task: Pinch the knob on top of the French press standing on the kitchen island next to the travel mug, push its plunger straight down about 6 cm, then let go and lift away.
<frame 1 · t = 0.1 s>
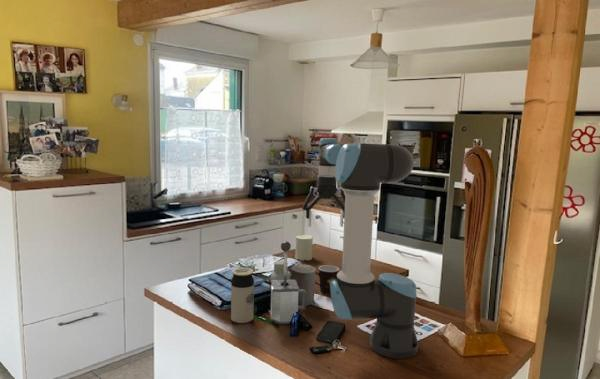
hand: (325, 226, 180), 28 cm above the counter, fingers open, 13 cm apart
grey cylinder: (302, 301, 171), on the counter
plunger: (285, 266, 152), point 20 cm above the counter, slide at 0.0 cm
coffee mug: (324, 291, 183), on the counter
travel mug: (242, 319, 154), on the counter
can: (303, 258, 227), on the counter
carafe: (283, 318, 155), on the counter
air freshener: (280, 284, 189), on the counter
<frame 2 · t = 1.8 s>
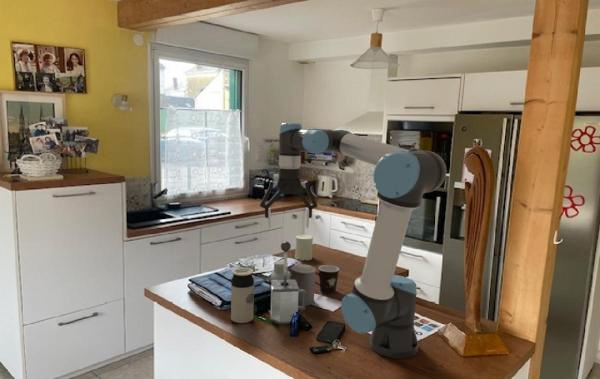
hand: (288, 226, 153), 33 cm above the counter, fingers open, 13 cm apart
nothing on the counter moved.
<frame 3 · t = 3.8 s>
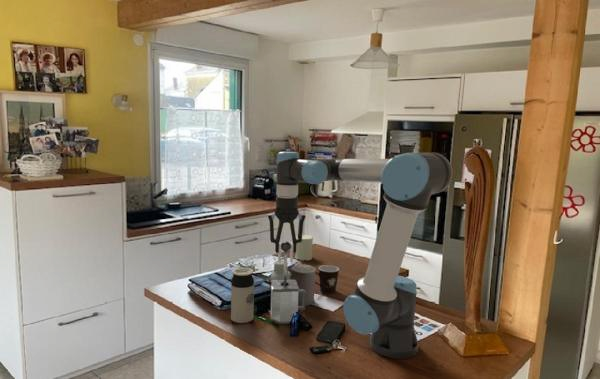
hand: (285, 261, 152), 22 cm above the counter, fingers closed on plunger, 4 cm apart
plunger: (285, 266, 152), point 20 cm above the counter, slide at 0.0 cm, touching gripper
everything else where it was.
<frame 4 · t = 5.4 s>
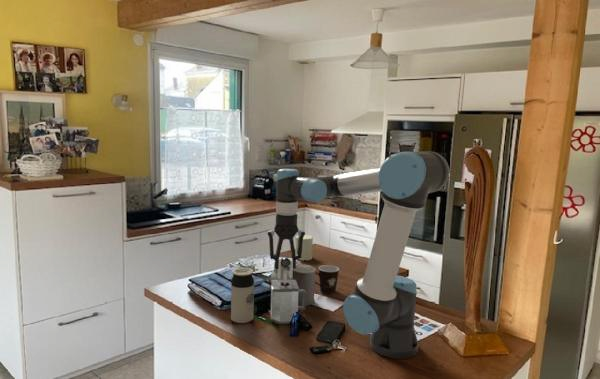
hand: (285, 277, 153), 16 cm above the counter, fingers closed on plunger, 4 cm apart
plunger: (284, 282, 153), point 14 cm above the counter, slide at 6.0 cm, touching gripper
everything else where it was.
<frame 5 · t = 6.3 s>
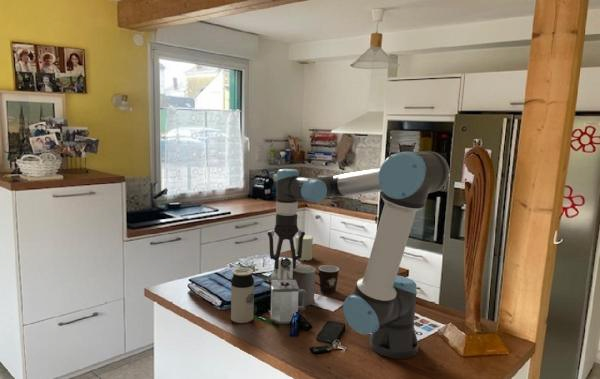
hand: (285, 277, 153), 16 cm above the counter, fingers closed on plunger, 4 cm apart
plunger: (284, 282, 153), point 14 cm above the counter, slide at 6.0 cm, touching gripper
everything else where it was.
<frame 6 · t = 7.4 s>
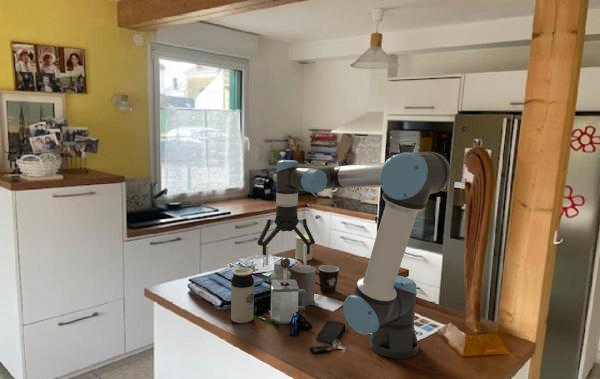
hand: (285, 263, 152), 21 cm above the counter, fingers open, 13 cm apart
plunger: (284, 282, 153), point 14 cm above the counter, slide at 6.0 cm
everything else where it was.
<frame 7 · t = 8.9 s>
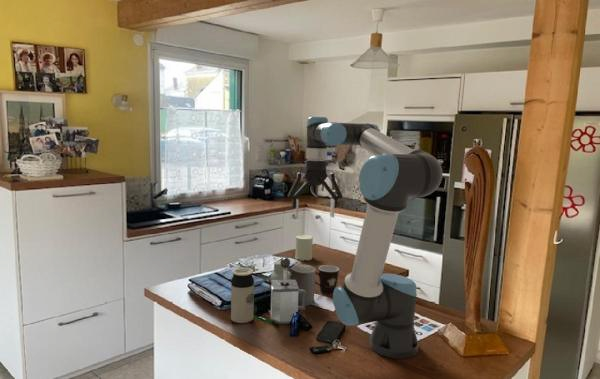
hand: (314, 216, 159), 36 cm above the counter, fingers open, 13 cm apart
nothing on the counter moved.
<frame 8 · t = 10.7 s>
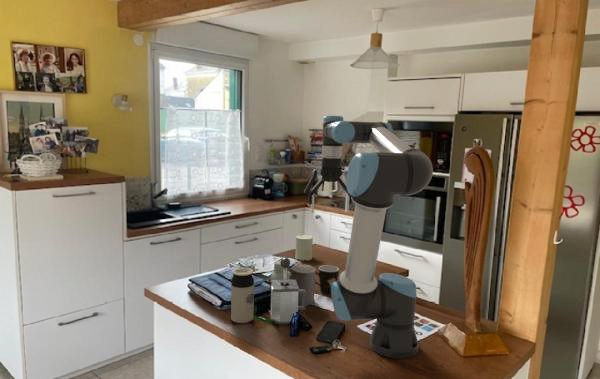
hand: (329, 212, 164), 37 cm above the counter, fingers open, 13 cm apart
nothing on the counter moved.
at the end: plunger slide at 6.0 cm; the gripper is holding nothing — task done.
